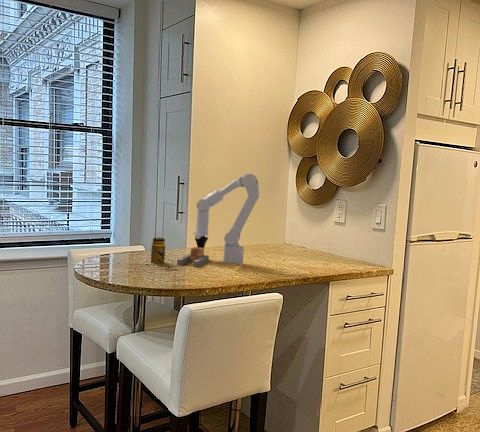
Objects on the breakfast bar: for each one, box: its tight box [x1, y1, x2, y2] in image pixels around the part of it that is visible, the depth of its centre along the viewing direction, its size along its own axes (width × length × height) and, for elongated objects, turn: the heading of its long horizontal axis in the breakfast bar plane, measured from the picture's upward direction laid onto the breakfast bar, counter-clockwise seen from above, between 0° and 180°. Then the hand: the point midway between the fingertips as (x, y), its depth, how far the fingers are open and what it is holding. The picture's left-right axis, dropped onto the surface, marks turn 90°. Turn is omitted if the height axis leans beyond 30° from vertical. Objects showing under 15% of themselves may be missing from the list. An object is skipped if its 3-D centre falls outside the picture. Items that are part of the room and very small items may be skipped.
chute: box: [176, 253, 210, 268], centre depth 224 cm, size 10×18×3 cm, turn 168°
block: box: [189, 246, 205, 262], centre depth 229 cm, size 5×5×6 cm
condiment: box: [145, 237, 166, 267], centre depth 218 cm, size 7×8×12 cm
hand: (200, 251), depth 235 cm, fingers closed
